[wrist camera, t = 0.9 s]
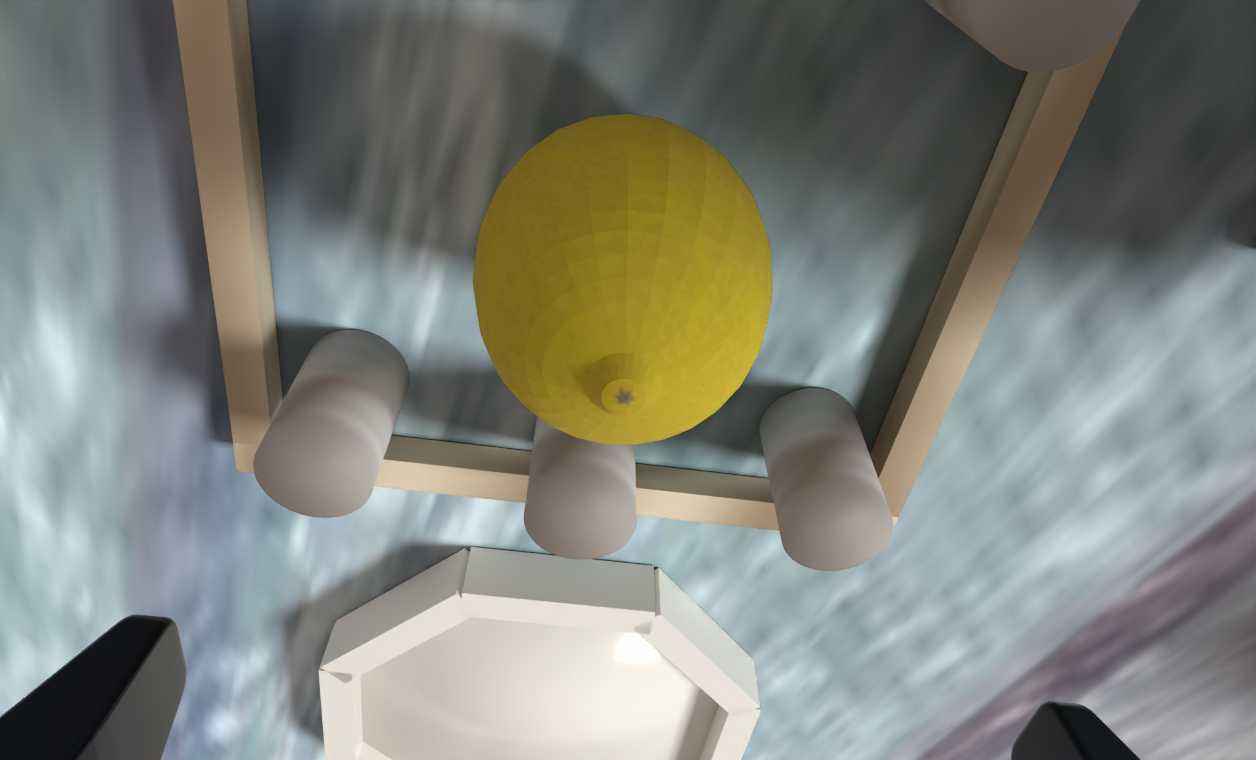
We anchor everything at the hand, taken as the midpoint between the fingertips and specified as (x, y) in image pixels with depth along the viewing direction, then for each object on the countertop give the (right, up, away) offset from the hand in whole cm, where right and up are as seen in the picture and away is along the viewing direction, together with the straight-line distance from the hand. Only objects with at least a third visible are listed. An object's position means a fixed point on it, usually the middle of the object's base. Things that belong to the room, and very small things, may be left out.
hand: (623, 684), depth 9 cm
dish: (-3, -8, +21) cm, 23 cm away
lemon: (0, +8, +11) cm, 13 cm away
